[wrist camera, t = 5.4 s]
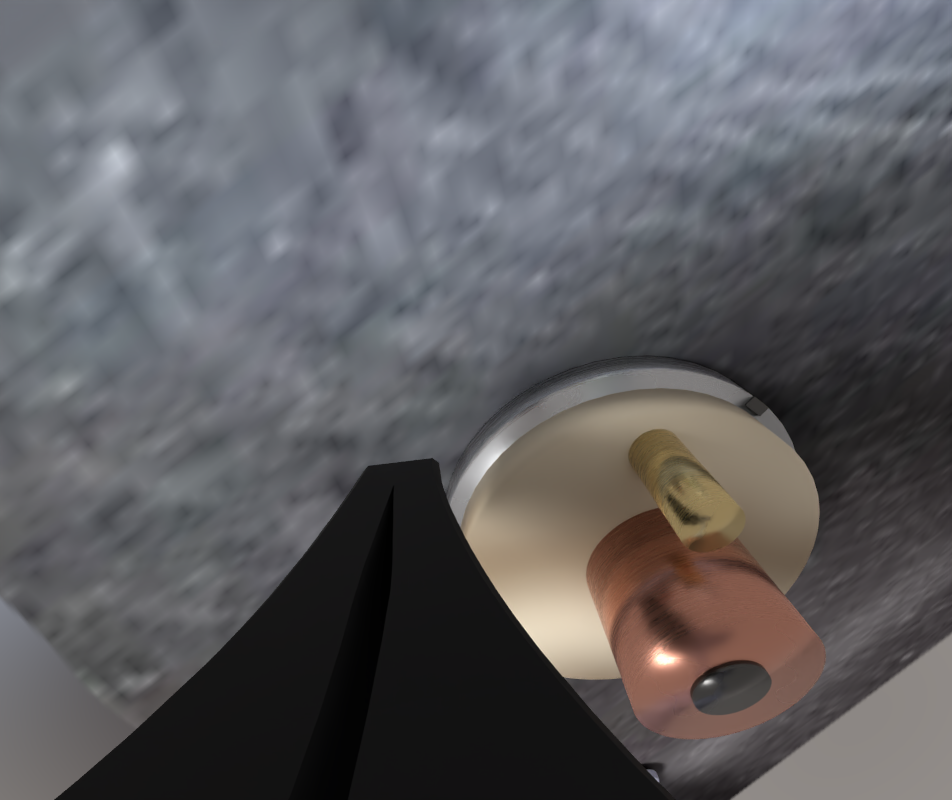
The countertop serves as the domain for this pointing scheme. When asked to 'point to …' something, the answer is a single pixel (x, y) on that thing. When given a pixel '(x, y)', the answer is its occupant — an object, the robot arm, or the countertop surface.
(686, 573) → the cover
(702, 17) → the countertop surface
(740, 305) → the countertop surface
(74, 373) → the countertop surface
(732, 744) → the countertop surface
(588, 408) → the turntable
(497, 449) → the base
